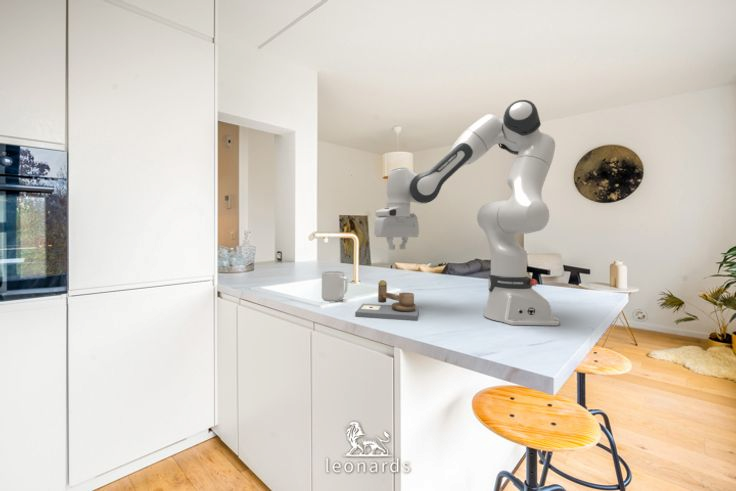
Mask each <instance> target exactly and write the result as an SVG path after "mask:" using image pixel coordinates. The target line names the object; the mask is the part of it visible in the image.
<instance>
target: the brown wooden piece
mask: <svg viewBox="0 0 736 491" xmlns="http://www.w3.org/2000/svg"><path fill="white" fill-rule="evenodd" d="M387 285H388V284H387V281H386V280H385V279H383V280H381V279H380V281H378V293H377V295H378V296H377V299H378V300H377V302H378V303H383V304H384V303H387V299H389V300H393V301H397V302H393V303H391V305H392V309H394V310H399V311H412V310H415V308H416V307H417V306H416V304H415V303H414V302H415V294H414V293H413V292H400V293H399V294H396V293H391V292H388V286H387Z"/></svg>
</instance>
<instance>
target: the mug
mask: <svg viewBox="0 0 736 491" xmlns="http://www.w3.org/2000/svg"><path fill="white" fill-rule="evenodd" d="M348 285H349V278H348V277H346V276H345V272H344V271H341V270H324V271H322V272H321V299H322V300H323V301H324V302H331V303H334V302H340V301H342V300H343V299H344V298H345V295H346V293H347V292H348Z"/></svg>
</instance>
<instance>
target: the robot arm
mask: <svg viewBox="0 0 736 491" xmlns="http://www.w3.org/2000/svg"><path fill="white" fill-rule="evenodd" d="M502 117H503V118H501V117H499V116H497V115H495V114H494V113H493V114H492V113H488V114H486V115H483V116H482V117H480V118H479V119H477V120H476V121H475V122H473V123H471V125H470V126H469V127H467V128H466V129H465V130H464V131H463V132H462V133H461V134H460V135H459V136H458V138H457V139H456V141H455V142H454V143H453V145H452V147H451V149H450V150H449V152H448V153H447V154H446V155H445V156H444V157H443V158H442V159H441V160H439V162H438V163H436V164H435V165H434V166H433V167H432V168H431V169H429V170H426V171H423V172H420V173H419V174H417V173H415V172H413V171H412V170H411V169H409V168H408V167H399V168H395V169H392V170H391V171H390V172H389V173H388V175H387V182H386V183H387V184H386V195H387V201H386V203H385V205H386V206H385V207H383V208H380V209H378V210H376V211H375V216H376V218H375V219H374V220H375V221H374V233H373V234H374V235H375V237H376V238H386V242H387V244H388V250H390V251H392V250H393V251H394V250H396V245H395V244H394V242H393V241H394V238H401V244H399V250H406V245H407V243H408V241H409V238H418V237H419V234H420V229H419V228H420V226H419V221H418V216H417V215H416V214H415V213H411V203H416V204H419V205H426V204H428V203H430V202H432V201H434V200H435V199H436V198H437V197H438V195H439V193H440V192H441V188H442V186H443V185H444V184H445V182H446V181H448V179H450V178H451V177H452V176H453V175H454V174H455V173H456V172H457V171H459V169H460V168H462V167H464V166H467V165H471V164H473V163H475V162H477V161H478V160H479V159H480V158H482V157H483V156H484V155H485V154H487V152H488V151H489V150H491V149H492V148H493V147H495V146H496V145H498V146H499V147H498V148H500V150H501V149H502V150H505V151H506V152H508V153H510V154H512V155H515V156H516V155H517V156H516V158H515V160H514V162H513V164H512V167H511V169H510V172H509V174H508V177H507V178H506V179H507V180H506V181H507V185H508V187H509V188H510V189H511V190H512V191H511V196H510V197H509V198H508V199H506V200H495V201H492V202H488V203H486V204H484V205H482V206H481V207H480V208H479V209H478V212H477V214H476V215H477V216H476V221H477V224H478V226H479V227H480V228H481V230H483V232H484V234H485V235H486V239H487V241H488V244H489V249H490V273H489V275H488V282H487V284H488V286H487V288H488V291H489V292H488V296H487V297H488V298H487V303H486V307H485V310H484V313H483V316H484V317H485V318H487V319H489V320H492V321H497V322H502V323H504V324H507V325H511V326H512V325H513V326H559V325H560V319H559V318H558V317H556V316H555V315H553V313H552V307H551V305H550V303H549V301H548V300H547V299H546V298H545V297H543V296H542V295H541V294H540V293H539V292H537V291H536V290H535V289H533V286H534V287H536V286H537V285H538V283H539V282H538V281H537V279H535V278H530V277H529V276H528V274H527V271H528V269H527V268H528V253H527V250H526V249H525V248H524V247H523V246H522V245H520V243H519V241H518V238H517V234H524V235H525V234H531V233H536V232H540V231H542V230H544V228H545V229H546V227H547V225H548V223H549V220H550V209H549V207H548V205H547V204H546V203H545V201H543V198H542V192H543V188H544V187H543V186H544V183H545V181H546V178H547V175H548V173H549V171H550V168H551V165H552V162H553V159H554V156H555V155H554V154H555V150H556V142H555V140H554V138H553V136H551V135H549V134H547V133H544V132H541V131H540V129H539V128H540V127H541V120H540V116H539V112H538V108H537V106H536V105H535V103H533V102H532V101H531V100H527V99H519V100H515V101H514V102H511V103H510V104H509V105H508V107H506V109H505V112H504V114H503V116H502ZM558 324H559V325H558Z"/></svg>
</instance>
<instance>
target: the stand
mask: <svg viewBox="0 0 736 491" xmlns="http://www.w3.org/2000/svg"><path fill="white" fill-rule="evenodd" d="M419 308H420V307H419V306H416V308H415V310H412V311H399V310H394V309H392V304H391V305H390V304H377V303H375V304H373V303H362V304H361V305H360V306H359V307H358V309H357V310H356V311H355V314H354V315H355V316H354V317H358V318H373V319H386V320H403V321H418V318H419Z"/></svg>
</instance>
